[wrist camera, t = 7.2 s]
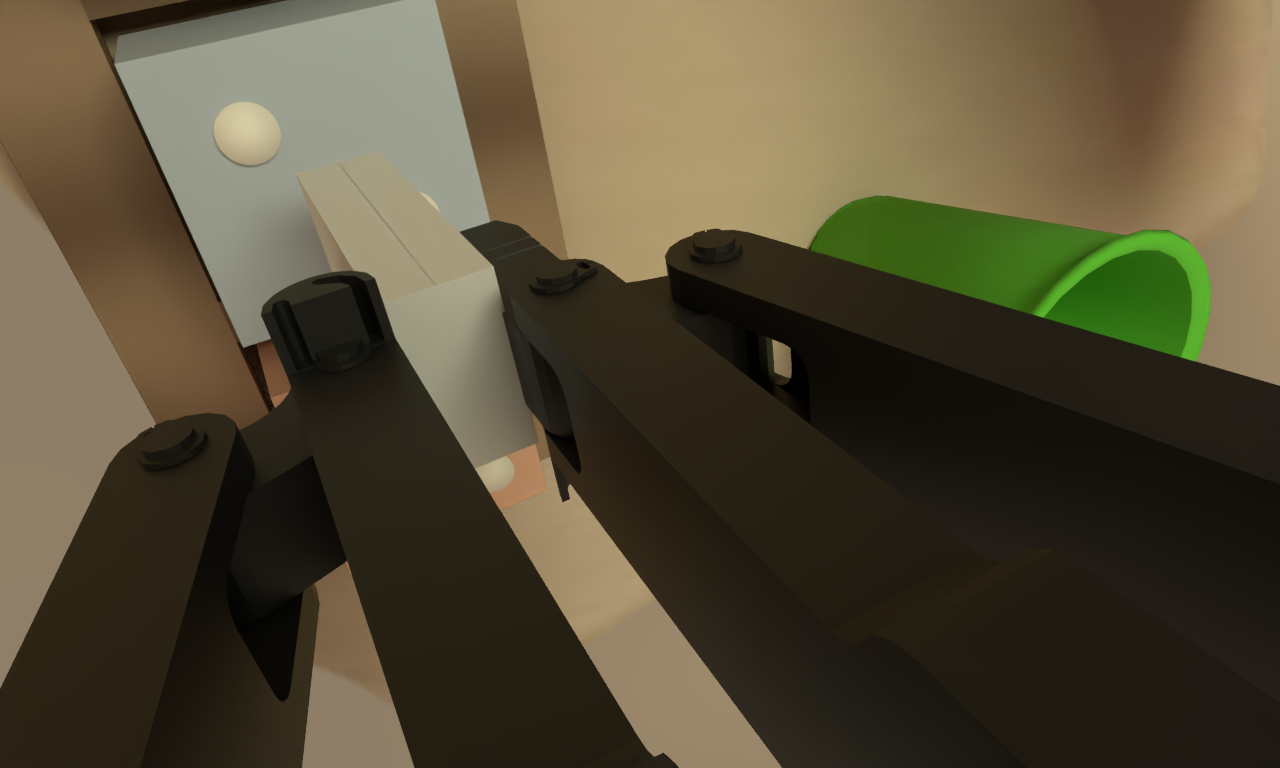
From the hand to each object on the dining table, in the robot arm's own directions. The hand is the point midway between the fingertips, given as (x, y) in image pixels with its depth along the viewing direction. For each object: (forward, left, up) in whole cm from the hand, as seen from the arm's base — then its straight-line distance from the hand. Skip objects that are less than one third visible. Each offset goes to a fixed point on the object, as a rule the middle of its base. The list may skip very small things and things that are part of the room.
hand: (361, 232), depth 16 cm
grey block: (0, 0, -7) cm, 7 cm away
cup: (+10, +18, -9) cm, 22 cm away
